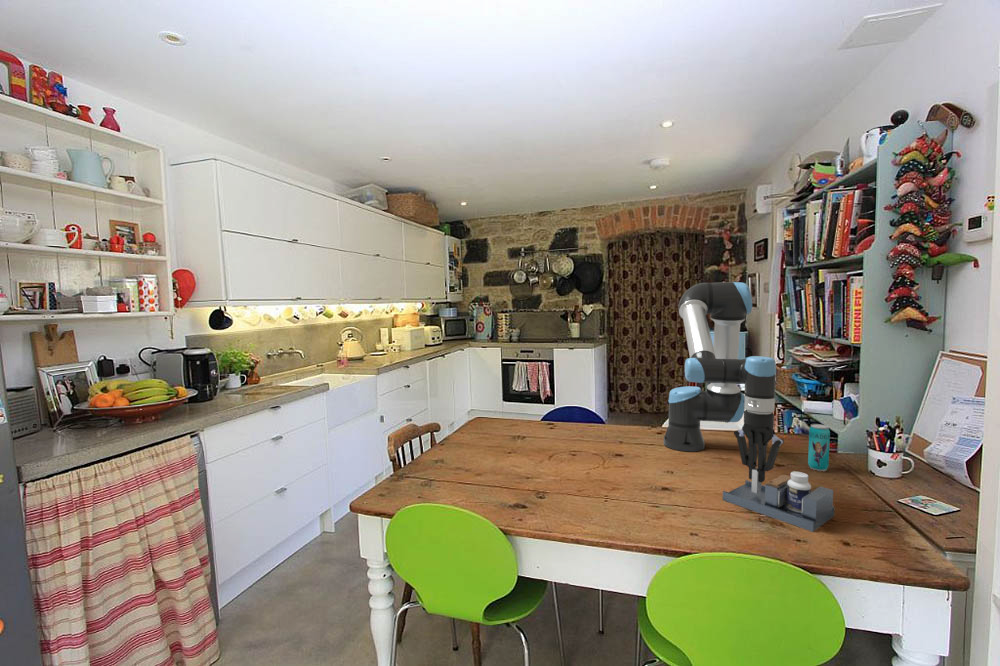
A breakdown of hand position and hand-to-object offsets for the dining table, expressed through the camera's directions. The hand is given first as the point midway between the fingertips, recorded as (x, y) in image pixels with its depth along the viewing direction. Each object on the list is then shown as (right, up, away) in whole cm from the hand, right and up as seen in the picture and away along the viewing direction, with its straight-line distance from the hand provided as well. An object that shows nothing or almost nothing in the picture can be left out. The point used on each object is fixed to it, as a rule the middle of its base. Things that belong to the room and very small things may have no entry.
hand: (756, 491), depth 132 cm
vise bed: (+3, -3, -5) cm, 6 cm away
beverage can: (+34, -1, +24) cm, 42 cm away
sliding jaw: (+4, -1, -5) cm, 7 cm away
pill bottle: (+6, -2, -9) cm, 11 cm away
